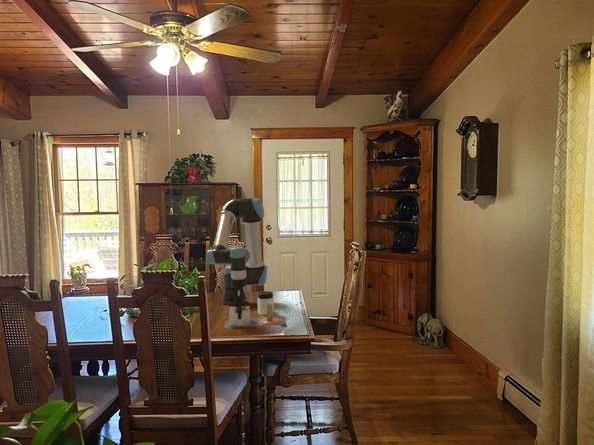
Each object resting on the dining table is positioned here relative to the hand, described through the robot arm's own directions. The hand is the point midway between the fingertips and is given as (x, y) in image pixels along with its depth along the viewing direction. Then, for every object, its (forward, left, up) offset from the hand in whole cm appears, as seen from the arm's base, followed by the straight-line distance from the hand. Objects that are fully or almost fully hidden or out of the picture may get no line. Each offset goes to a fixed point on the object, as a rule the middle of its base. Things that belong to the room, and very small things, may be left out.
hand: (240, 322), depth 212 cm
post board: (+4, +6, -1) cm, 8 cm away
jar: (-8, +20, -1) cm, 22 cm away
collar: (0, 0, 0) cm, 0 cm away
